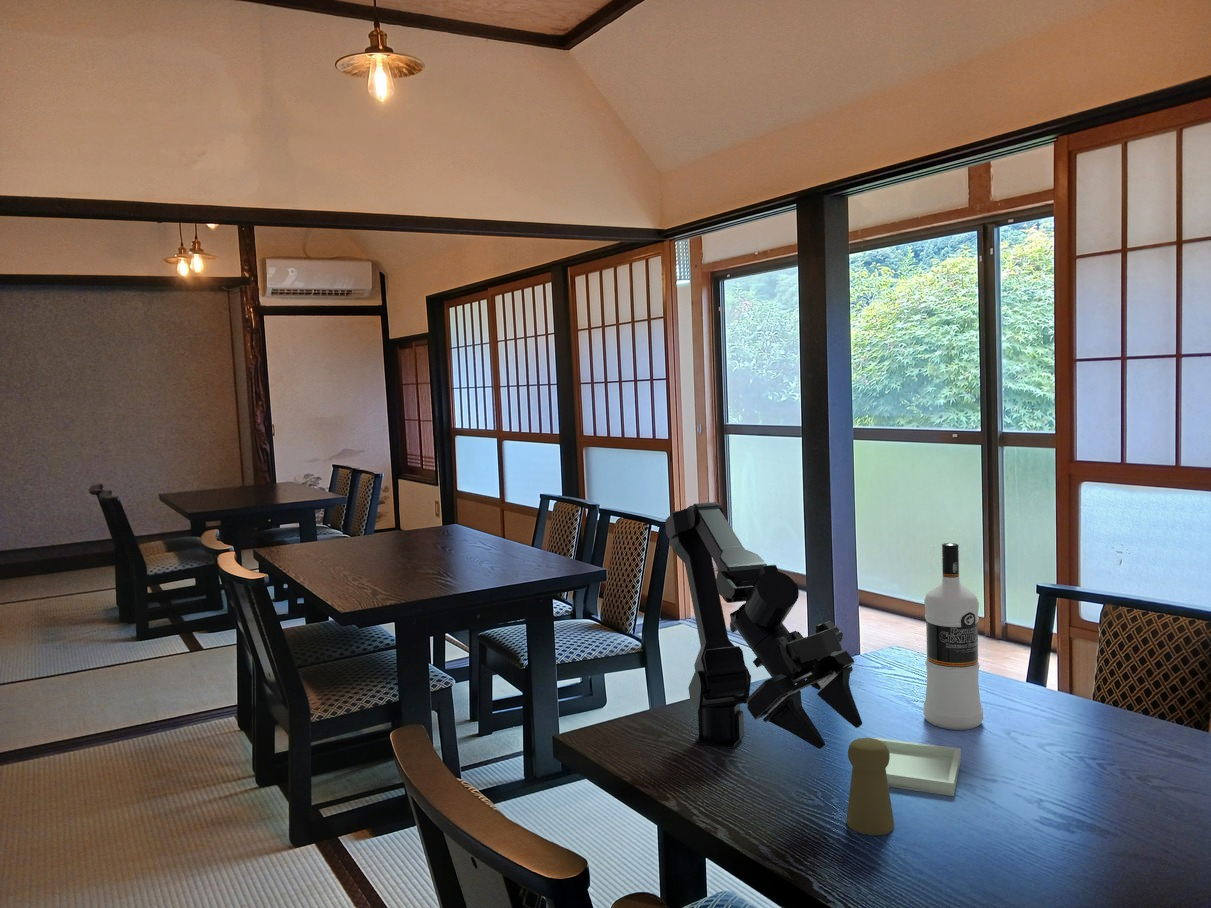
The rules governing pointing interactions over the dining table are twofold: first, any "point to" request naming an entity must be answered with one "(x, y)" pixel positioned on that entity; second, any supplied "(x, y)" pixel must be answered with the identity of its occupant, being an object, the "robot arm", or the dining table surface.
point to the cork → (869, 788)
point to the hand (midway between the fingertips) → (841, 736)
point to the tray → (922, 767)
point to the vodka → (952, 650)
